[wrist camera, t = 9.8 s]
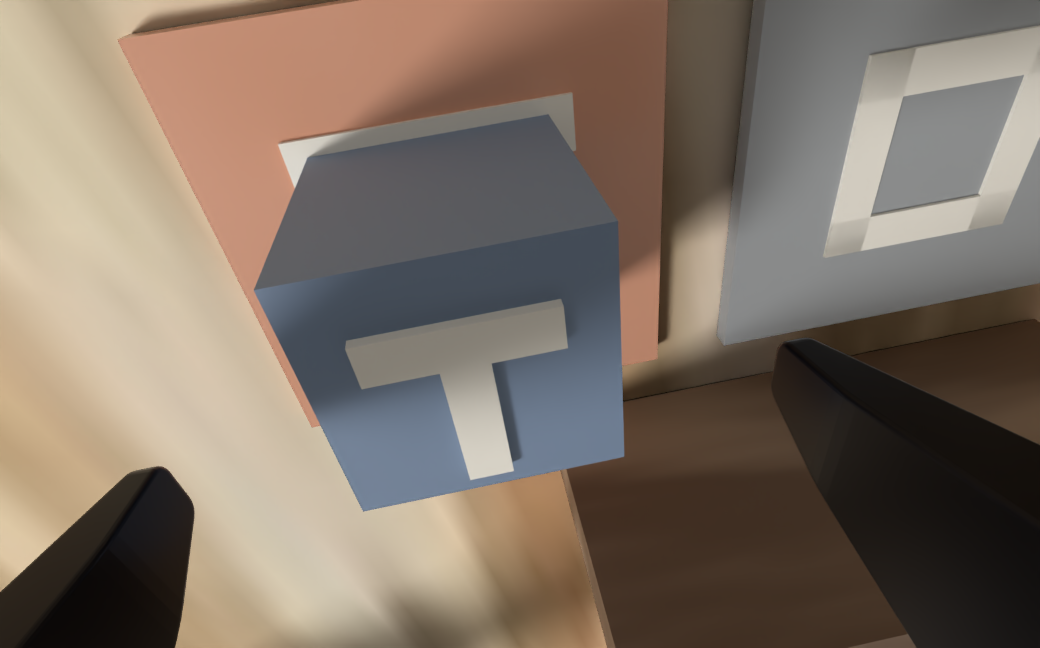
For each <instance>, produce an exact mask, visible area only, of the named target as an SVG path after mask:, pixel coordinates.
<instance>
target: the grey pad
mask: <svg viewBox="0 0 1040 648" xmlns="http://www.w3.org/2000/svg"><path fill="white" fill-rule="evenodd" d="M1038 283H1040V0H753V7H752V16H751V25H750V35H749V44H748V53H747V62H746V71H745V80H744V89H743V99H742V108H741V117H740V126H739V135H738V144H737V153H736V163H735V172H734V181H733V190H732V199H731V208H730V217H729V226H728V236H727V245H726V254H725V263H724V272H723V281H722V290H721V300H720V309H719V318H718V327H717V337H718V338H719V340H720V341H721V342H722V344H723V345H724V346H725V345H730V344H735V343H741V342H746V341H751V340H756V339H761V338H766V337H771V336H776V335H781V334H786V333H791V332H796V331H801V330H806V329H811V328H816V327H821V326H826V325H831V324H836V323H841V322H847V321H852V320H857V319H862V318H867V317H872V316H877V315H882V314H887V313H892V312H897V311H902V310H907V309H912V308H917V307H922V306H927V305H932V304H937V303H942V302H948V301H953V300H958V299H963V298H968V297H973V296H978V295H983V294H988V293H993V292H998V291H1003V290H1008V289H1013V288H1018V287H1023V286H1028V285H1033V284H1038Z"/></svg>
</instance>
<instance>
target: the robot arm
mask: <svg viewBox="0 0 1040 648" xmlns="http://www.w3.org/2000/svg"><path fill="white" fill-rule="evenodd" d="M771 389H772V394H773V397H774V399H775V402H776V404H777V406H778V408H779V410H780V412H781V414H782V416H783V418H784V420H785V423H786V425H787V427H788V429H789V431H790V433H791V435H792V437H793V439H794V441H795V443H796V446H797V448H798V450H799V452H800V454H801V456H802V458H803V460H804V462H805V464H806V467H807V469H808V471H809V473H810V475H811V477H812V479H813V480H814V482H815V484H816V486H817V488H818V490H819V491H820V493H821V495H822V496H823V498H824V500H825V502H826V503H827V505H828V506H829V508H830V510H831V511H832V513H833V514H834V516H835V518H836V519H837V521H838V523H839V524H840V526H841V527H842V529H843V531H844V532H845V534H846V535H847V537H848V539H849V540H850V542H851V543H852V545H853V547H854V548H855V550H856V552H857V553H858V555H859V556H860V558H861V560H862V561H863V563H864V564H865V566H866V568H867V569H868V571H869V573H870V574H871V576H872V577H873V579H874V581H875V582H876V584H877V585H878V587H879V589H880V590H881V592H882V593H883V595H884V597H885V598H886V600H887V602H888V603H889V605H890V606H891V608H892V610H893V611H894V613H895V614H896V616H897V618H898V619H899V621H900V623H901V624H902V626H903V627H904V629H905V631H906V632H907V634H908V635H909V637H910V639H911V640H912V642H913V643H914V645H915V647H916V648H1040V444H1038V443H1036V442H1034V441H1031V440H1029V439H1027V438H1025V437H1023V436H1021V435H1018V434H1016V433H1014V432H1012V431H1010V430H1008V429H1006V428H1003V427H1001V426H999V425H997V424H995V423H993V422H990V421H988V420H986V419H984V418H982V417H980V416H978V415H975V414H973V413H971V412H969V411H967V410H965V409H963V408H960V407H958V406H956V405H954V404H952V403H950V402H947V401H945V400H943V399H941V398H939V397H937V396H935V395H932V394H930V393H928V392H926V391H924V390H922V389H920V388H917V387H915V386H913V385H911V384H909V383H907V382H904V381H902V380H900V379H898V378H896V377H894V376H892V375H889V374H887V373H885V372H883V371H881V370H879V369H877V368H874V367H872V366H870V365H868V364H866V363H864V362H861V361H859V360H857V359H855V358H853V357H851V356H849V355H846V354H844V353H842V352H840V351H838V350H836V349H834V348H831V347H829V346H827V345H825V344H823V343H821V342H818V341H816V340H814V339H811V338H801V339H796V340H791V341H786V342H783V343H781V344H780V346H779V347H778V350H777V354H776V359H775V364H774V370H773V375H772V380H771ZM193 524H194V506H193V503H192V501H191V499H190V497H189V496H188V495H187V493H186V492H185V491H184V490H183V488H182V487H181V486H180V484H179V483H178V482H177V481H176V479H175V478H174V477H173V475H172V474H171V473H170V472H169V471H168V470H167V469H166V468H164V467H162V466H156V467H151V468H146V469H141V470H136V471H133V472H130V473H129V474H127V475H126V476H125V477H124V478H123V479H122V480H120V481H119V482H118V483H117V484H116V485H115V486H114V487H113V488H112V489H111V490H110V491H109V492H108V493H106V494H105V495H104V496H103V497H102V498H101V499H100V500H99V501H98V502H97V503H96V504H95V505H94V506H92V507H91V508H90V509H89V510H88V511H87V512H86V513H85V514H84V515H83V516H82V517H81V518H80V519H78V520H77V521H76V522H75V523H74V524H73V525H72V526H71V527H70V528H69V529H68V530H67V531H66V532H65V533H63V534H62V535H61V536H60V537H59V538H58V539H57V540H56V541H55V542H54V543H53V544H52V545H51V546H49V547H48V548H47V549H46V550H45V551H44V552H43V553H42V554H41V555H40V556H39V557H38V558H37V559H35V560H34V561H33V562H32V563H31V564H30V565H29V566H28V567H27V568H26V569H25V570H24V571H23V572H21V573H20V574H19V575H18V576H17V577H16V578H15V579H14V580H13V581H12V582H11V583H10V584H9V585H7V586H6V587H5V588H4V589H3V590H2V591H1V592H0V648H175V645H176V641H177V636H178V632H179V627H180V622H181V617H182V610H183V604H184V596H185V588H186V580H187V572H188V564H189V556H190V548H191V540H192V532H193Z"/></svg>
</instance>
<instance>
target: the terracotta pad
mask: <svg viewBox="0 0 1040 648" xmlns="http://www.w3.org/2000/svg"><path fill="white" fill-rule="evenodd" d="M667 16H668V0H339V1H332V2H326V3H320V4H314V5H308V6H302V7H295V8H289V9H283V10H277V11H271V12H265V13H258V14H252V15H246V16H240V17H234V18H228V19H221V20H215V21H209V22H203V23H197V24H191V25H184V26H178V27H172V28H166V29H160V30H154V31H147V32H141V33H135V34H129V35H126V36H124V37H122V38H120V39H118V42H119V44H120V46H121V48H122V50H123V52H124V54H125V56H126V58H127V60H128V62H129V64H130V66H131V68H132V70H133V72H134V74H135V76H136V78H137V80H138V82H139V84H140V86H141V88H142V90H143V92H144V94H145V96H146V98H147V100H148V102H149V104H150V106H151V108H152V110H153V112H154V114H155V116H156V118H157V120H158V122H159V124H160V126H161V128H162V130H163V132H164V134H165V136H166V138H167V140H168V142H169V144H170V146H171V148H172V150H173V152H174V154H175V156H176V158H177V160H178V162H179V164H180V166H181V168H182V170H183V172H184V174H185V176H186V178H187V180H188V182H189V184H190V186H191V188H192V190H193V192H194V194H195V196H196V198H197V199H198V201H199V203H200V205H201V207H202V209H203V211H204V213H205V215H206V217H207V219H208V221H209V223H210V225H211V227H212V229H213V231H214V233H215V235H216V237H217V239H218V241H219V243H220V245H221V247H222V249H223V251H224V253H225V255H226V257H227V259H228V261H229V263H230V265H231V267H232V269H233V271H234V273H235V275H236V277H237V279H238V281H239V283H240V285H241V287H242V289H243V291H244V293H245V295H246V297H247V299H248V301H249V303H250V305H251V307H252V309H253V311H254V313H255V315H256V317H257V319H258V321H259V323H260V325H261V327H262V329H263V331H264V333H265V335H266V337H267V339H268V341H269V343H270V345H271V347H272V349H273V351H274V353H275V355H276V357H277V359H278V361H279V363H280V365H281V367H282V369H283V371H284V373H285V375H286V377H287V379H288V381H289V383H290V385H291V387H292V389H293V391H294V393H295V395H296V397H297V399H298V401H299V403H300V405H301V407H302V409H303V411H304V413H305V415H306V417H307V419H308V421H309V423H310V425H311V427H316V426H321V425H320V423H319V421H318V419H317V417H316V415H315V413H314V411H313V409H312V407H311V405H310V403H309V401H308V399H307V397H306V395H305V393H304V391H303V389H302V387H301V385H300V383H299V381H298V379H297V377H296V375H295V373H294V371H293V369H292V367H291V365H290V363H289V361H288V359H287V357H286V355H285V353H284V351H283V349H282V347H281V345H280V343H279V341H278V339H277V337H276V335H275V333H274V331H273V329H272V326H271V324H270V322H269V320H268V318H267V316H266V314H265V312H264V310H263V308H262V306H261V304H260V302H259V300H258V298H257V296H256V294H255V292H254V288H255V286H256V283H257V281H258V278H259V276H260V273H261V271H262V268H263V266H264V263H265V261H266V258H267V256H268V254H269V251H270V249H271V246H272V244H273V241H274V239H275V236H276V234H277V231H278V229H279V226H280V224H281V222H282V219H283V217H284V214H285V212H286V209H287V207H288V204H289V202H290V199H291V197H292V194H293V192H294V189H295V187H296V185H297V182H298V180H299V177H300V175H301V172H302V170H303V167H304V165H305V162H306V160H307V158H308V157H314V156H319V155H325V154H330V153H336V152H342V151H347V150H353V149H358V148H364V147H369V146H375V145H380V144H386V143H391V142H397V141H403V140H408V139H414V138H419V137H425V136H430V135H436V134H441V133H447V132H452V131H458V130H464V129H469V128H475V127H480V126H486V125H491V124H497V123H502V122H508V121H513V120H519V119H525V118H530V117H536V116H541V115H547V114H549V116H550V118H551V119H552V121H553V122H554V124H555V125H556V127H557V128H558V130H559V131H560V133H561V134H562V136H563V137H564V139H565V140H566V142H567V144H568V145H569V147H570V148H571V150H572V151H573V153H574V154H575V156H576V157H577V159H578V160H579V162H580V163H581V165H582V166H583V168H584V170H585V171H586V173H587V174H588V176H589V177H590V179H591V180H592V182H593V183H594V185H595V186H596V188H597V189H598V191H599V193H600V194H601V196H602V197H603V199H604V200H605V202H606V203H607V205H608V206H609V208H610V209H611V211H612V212H613V214H614V215H615V217H616V219H617V220H618V235H619V273H620V311H621V348H622V366H624V365H629V364H635V363H640V362H645V361H650V360H655V359H657V350H658V317H659V284H660V250H661V217H662V183H663V150H664V117H665V83H666V50H667Z"/></svg>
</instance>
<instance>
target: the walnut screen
mask: <svg viewBox="0 0 1040 648" xmlns="http://www.w3.org/2000/svg"><path fill="white" fill-rule="evenodd" d="M851 357H853V358H855V359H857V360H859V361H861V362H864V363H866V364H868V365H870V366H872V367H874V368H877V369H879V370H881V371H883V372H885V373H887V374H889V375H892V376H894V377H896V378H898V379H900V380H902V381H904V382H907V383H909V384H911V385H913V386H915V387H917V388H920V389H922V390H924V391H926V392H928V393H930V394H932V395H935V396H937V397H939V398H941V399H943V400H945V401H947V402H950V403H952V404H954V405H956V406H958V407H960V408H963V409H965V410H967V411H969V412H971V413H973V414H975V415H978V416H980V417H982V418H984V419H986V420H988V421H990V422H993V423H995V424H997V425H999V426H1001V427H1003V428H1006V429H1008V430H1010V431H1012V432H1014V433H1016V434H1018V435H1021V436H1023V437H1025V438H1027V439H1029V440H1031V441H1034V442H1036V443H1038V444H1040V322H1038V321H1037V320H1035V319H1033V320H1028V321H1023V322H1018V323H1013V324H1008V325H1003V326H998V327H993V328H988V329H983V330H978V331H973V332H968V333H963V334H958V335H953V336H948V337H943V338H938V339H933V340H928V341H923V342H918V343H913V344H908V345H903V346H898V347H893V348H888V349H883V350H878V351H874V352H869V353H864V354H859V355H854V356H851ZM772 375H773V372H769V373H764V374H759V375H754V376H749V377H744V378H739V379H734V380H729V381H724V382H719V383H714V384H710V385H705V386H700V387H695V388H690V389H685V390H680V391H675V392H670V393H665V394H660V395H655V396H650V397H645V398H640V399H635V400H630V401H625V402H623V424H624V457H621V458H616V459H611V460H607V461H602V462H597V463H592V464H588V465H583V466H578V467H573V468H568V469H564V470H560V471H561V474H562V478H563V482H564V486H565V490H566V493H567V497H568V501H569V505H570V508H571V512H572V516H573V520H574V524H575V527H576V531H577V535H578V539H579V543H580V546H581V550H582V554H583V558H584V561H585V565H586V569H587V573H588V577H589V580H590V584H591V588H592V592H593V596H594V599H595V603H596V607H597V611H598V614H599V618H600V622H601V626H602V630H603V633H604V637H605V641H606V645H607V648H916V647H915V645H914V643H913V642H912V640H911V639H910V637H909V635H908V634H907V632H906V631H905V629H904V627H903V626H902V624H901V623H900V621H899V619H898V618H897V616H896V614H895V613H894V611H893V610H892V608H891V606H890V605H889V603H888V602H887V600H886V598H885V597H884V595H883V593H882V592H881V590H880V589H879V587H878V585H877V584H876V582H875V581H874V579H873V577H872V576H871V574H870V573H869V571H868V569H867V568H866V566H865V564H864V563H863V561H862V560H861V558H860V556H859V555H858V553H857V552H856V550H855V548H854V547H853V545H852V543H851V542H850V540H849V539H848V537H847V535H846V534H845V532H844V531H843V529H842V527H841V526H840V524H839V523H838V521H837V519H836V518H835V516H834V514H833V513H832V511H831V510H830V508H829V506H828V505H827V503H826V502H825V500H824V498H823V496H822V495H821V493H820V491H819V490H818V488H817V486H816V484H815V482H814V480H813V479H812V477H811V475H810V473H809V471H808V469H807V467H806V464H805V462H804V460H803V458H802V456H801V454H800V452H799V450H798V448H797V446H796V443H795V441H794V439H793V437H792V435H791V433H790V431H789V429H788V427H787V425H786V423H785V420H784V418H783V416H782V414H781V412H780V410H779V408H778V406H777V404H776V402H775V399H774V397H773V394H772V389H771V380H772Z"/></svg>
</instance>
